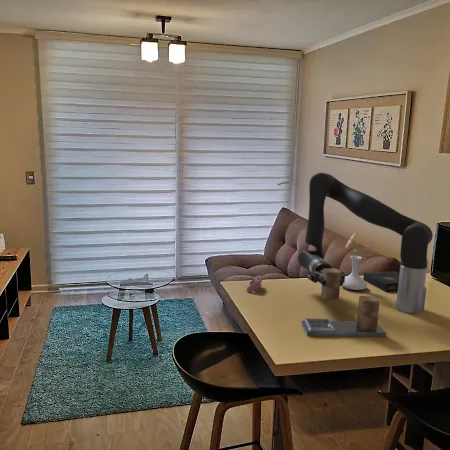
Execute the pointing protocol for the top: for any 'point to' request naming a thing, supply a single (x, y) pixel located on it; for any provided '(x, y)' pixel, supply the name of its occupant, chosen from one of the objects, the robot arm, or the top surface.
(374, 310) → the block
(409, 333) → the top surface
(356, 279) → the flower in vase
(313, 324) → the rail
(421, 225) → the robot arm
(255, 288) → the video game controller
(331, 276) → the walnut finger
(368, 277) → the portable cd player
